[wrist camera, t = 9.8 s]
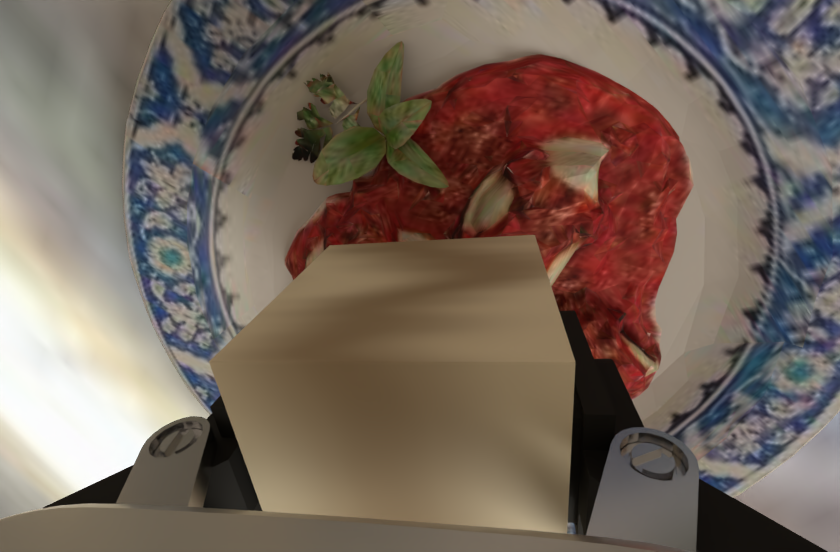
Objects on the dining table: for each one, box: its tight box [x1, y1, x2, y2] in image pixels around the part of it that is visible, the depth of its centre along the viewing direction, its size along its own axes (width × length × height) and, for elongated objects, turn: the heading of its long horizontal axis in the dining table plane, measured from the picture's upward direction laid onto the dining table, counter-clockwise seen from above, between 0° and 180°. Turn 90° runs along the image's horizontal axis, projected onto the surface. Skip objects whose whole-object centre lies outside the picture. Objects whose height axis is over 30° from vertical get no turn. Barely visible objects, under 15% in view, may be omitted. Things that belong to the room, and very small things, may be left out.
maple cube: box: [209, 235, 575, 534], centre depth 10 cm, size 6×6×6 cm
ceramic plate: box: [122, 0, 840, 534], centre depth 15 cm, size 26×26×3 cm
